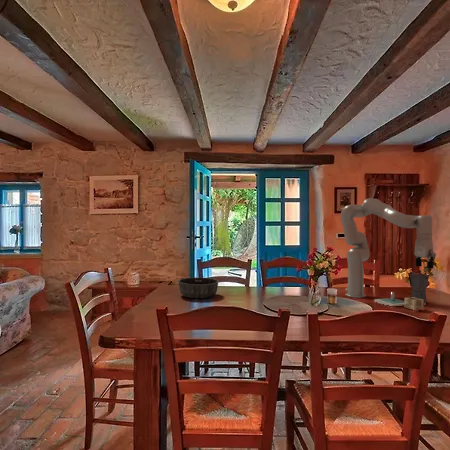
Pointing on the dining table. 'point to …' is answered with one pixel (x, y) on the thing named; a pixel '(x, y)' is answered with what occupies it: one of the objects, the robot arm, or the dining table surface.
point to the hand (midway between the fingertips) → (424, 267)
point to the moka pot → (418, 285)
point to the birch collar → (414, 303)
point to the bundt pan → (198, 287)
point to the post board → (390, 302)
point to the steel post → (392, 296)
